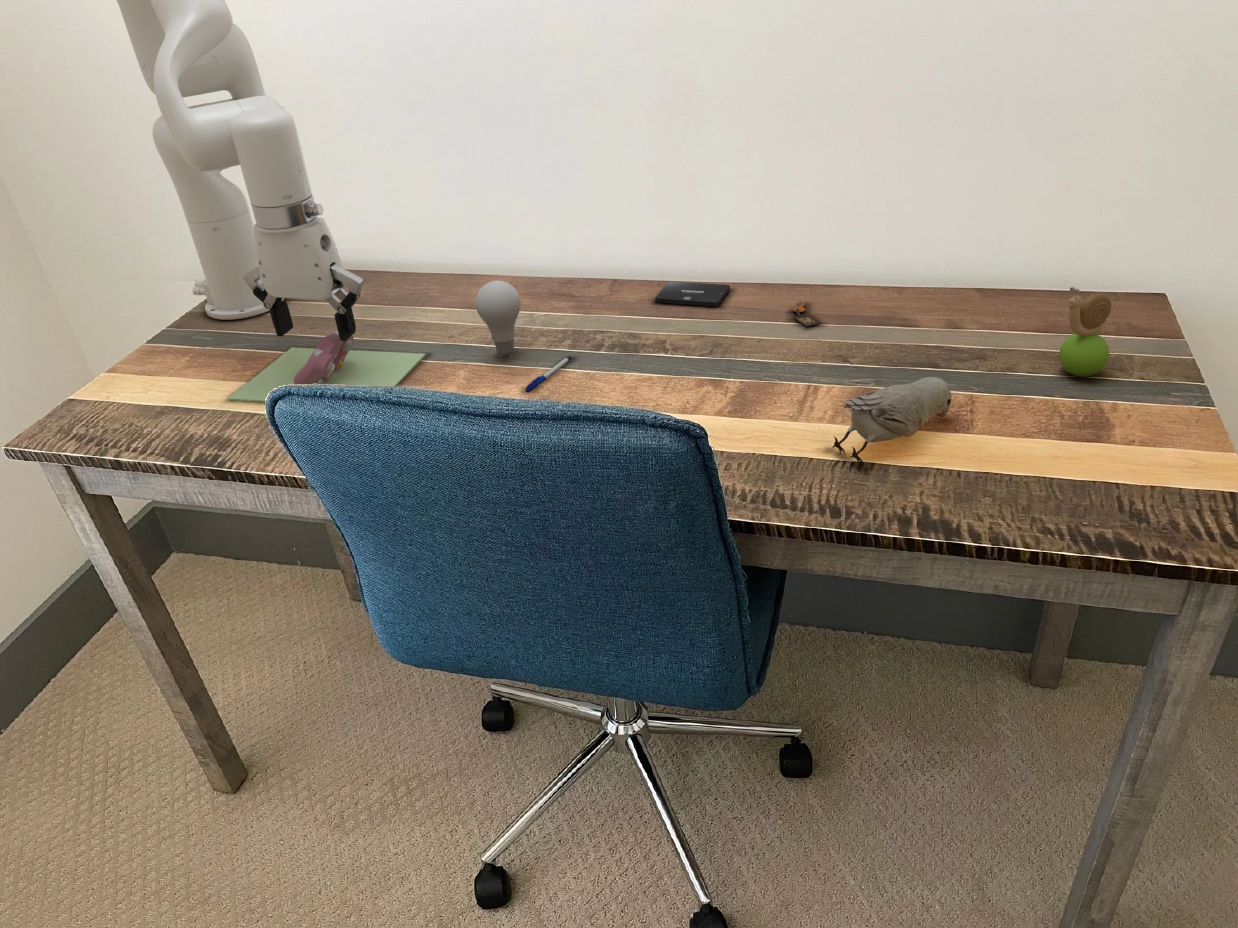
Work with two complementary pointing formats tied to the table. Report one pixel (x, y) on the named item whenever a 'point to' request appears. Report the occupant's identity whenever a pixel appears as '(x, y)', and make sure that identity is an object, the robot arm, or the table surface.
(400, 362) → the desk mat
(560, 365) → the ballpoint pen
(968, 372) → the table surface
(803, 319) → the key tag
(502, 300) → the lightbulb
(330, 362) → the video game controller
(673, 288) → the solid state drive
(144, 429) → the table surface
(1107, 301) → the snail figurine
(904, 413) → the decorative bird
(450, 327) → the table surface
